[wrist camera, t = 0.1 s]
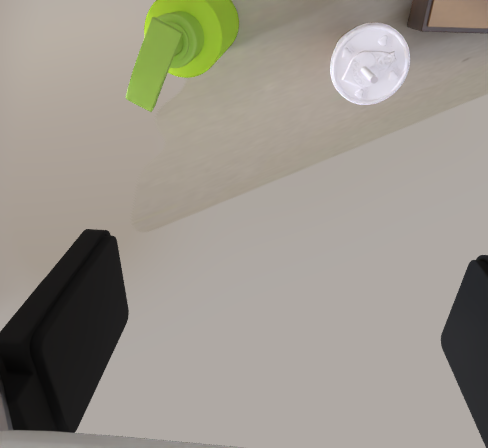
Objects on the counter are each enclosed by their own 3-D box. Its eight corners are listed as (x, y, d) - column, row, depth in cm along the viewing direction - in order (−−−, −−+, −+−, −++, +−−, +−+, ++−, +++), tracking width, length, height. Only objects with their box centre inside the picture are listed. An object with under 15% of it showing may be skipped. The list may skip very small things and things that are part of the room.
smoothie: (312, 33, 41) (325, 53, 29) (375, 3, 39) (416, 10, 27) (333, 92, 43) (352, 133, 31) (392, 67, 42) (436, 99, 30)
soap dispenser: (170, 45, 42) (92, 85, 25) (195, -23, 39) (127, -31, 22) (219, 73, 43) (177, 129, 26) (248, 9, 40) (223, 25, 23)
